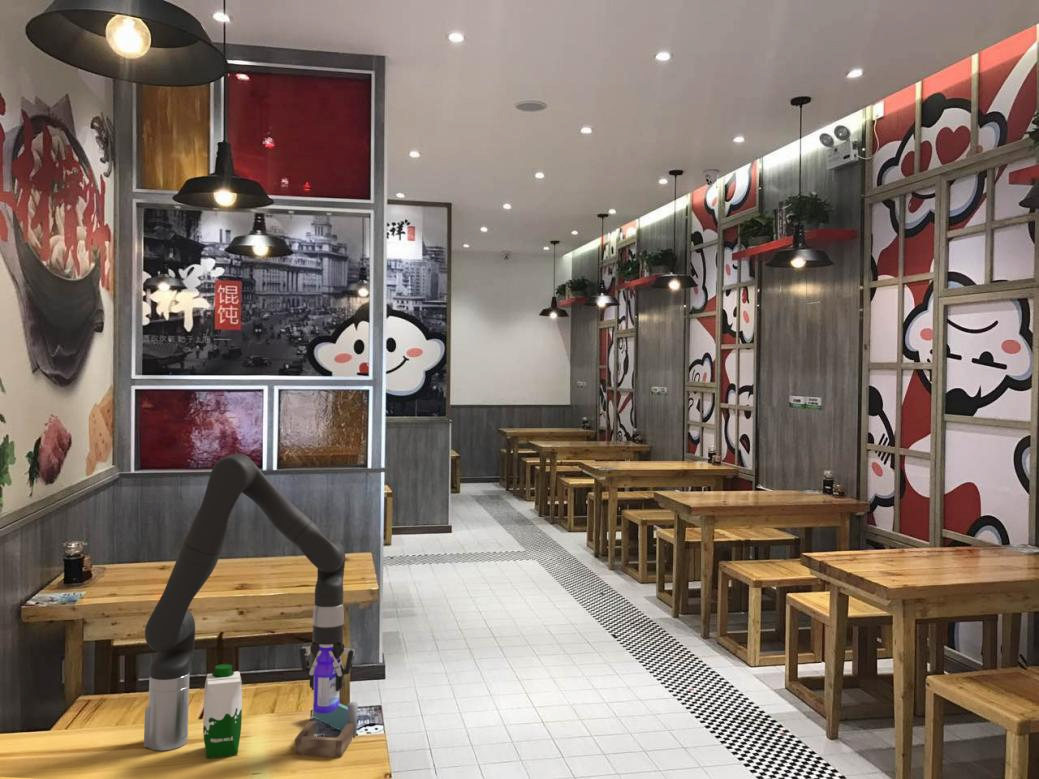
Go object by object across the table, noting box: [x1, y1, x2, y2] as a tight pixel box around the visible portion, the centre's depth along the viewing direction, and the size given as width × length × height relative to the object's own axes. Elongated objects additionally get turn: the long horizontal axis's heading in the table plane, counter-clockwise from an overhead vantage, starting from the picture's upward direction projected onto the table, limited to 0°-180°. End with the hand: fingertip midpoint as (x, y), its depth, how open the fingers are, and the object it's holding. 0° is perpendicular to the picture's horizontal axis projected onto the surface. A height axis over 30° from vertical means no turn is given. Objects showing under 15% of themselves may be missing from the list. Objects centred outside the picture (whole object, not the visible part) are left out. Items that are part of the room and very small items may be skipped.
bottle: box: [312, 644, 340, 714], centre depth 205 cm, size 7×6×17 cm
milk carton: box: [202, 663, 243, 760], centre depth 201 cm, size 9×9×20 cm
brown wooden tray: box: [294, 720, 354, 758], centre depth 204 cm, size 12×11×4 cm
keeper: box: [312, 696, 358, 738], centre depth 217 cm, size 18×2×8 cm, turn 47°
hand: (326, 689), depth 205 cm, fingers closed on bottle, 5 cm apart
